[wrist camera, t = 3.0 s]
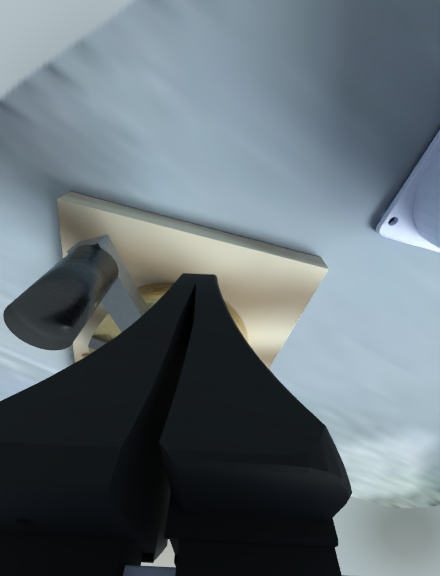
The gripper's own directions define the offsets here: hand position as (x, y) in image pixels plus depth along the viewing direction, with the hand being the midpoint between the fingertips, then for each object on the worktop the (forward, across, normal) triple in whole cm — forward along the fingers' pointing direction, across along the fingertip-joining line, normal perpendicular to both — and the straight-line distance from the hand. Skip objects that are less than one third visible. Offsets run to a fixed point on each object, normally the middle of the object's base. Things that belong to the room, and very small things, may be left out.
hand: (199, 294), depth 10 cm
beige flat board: (+7, +2, +9) cm, 11 cm away
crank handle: (+5, +3, +6) cm, 9 cm away
